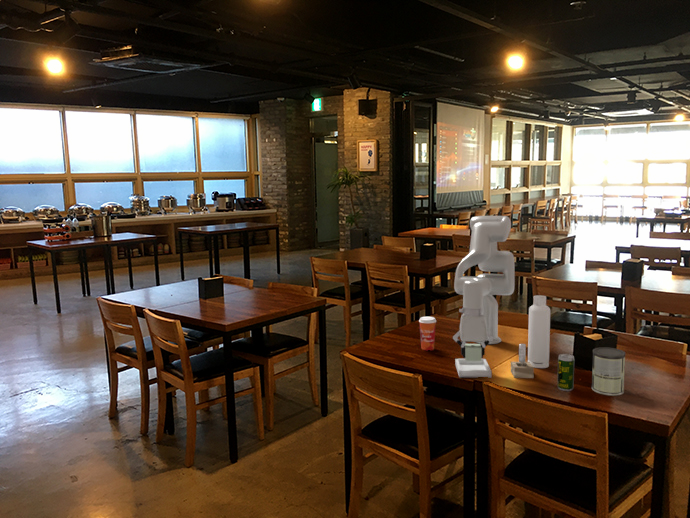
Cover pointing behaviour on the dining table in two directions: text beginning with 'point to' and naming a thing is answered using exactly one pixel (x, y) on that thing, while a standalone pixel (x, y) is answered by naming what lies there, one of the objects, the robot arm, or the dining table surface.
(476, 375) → the grey tray
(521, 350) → the rod
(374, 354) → the dining table surface
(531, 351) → the bottle
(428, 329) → the paper cup
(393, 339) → the dining table surface
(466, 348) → the green block
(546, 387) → the dining table surface
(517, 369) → the beige square block
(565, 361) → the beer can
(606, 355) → the coffee can
